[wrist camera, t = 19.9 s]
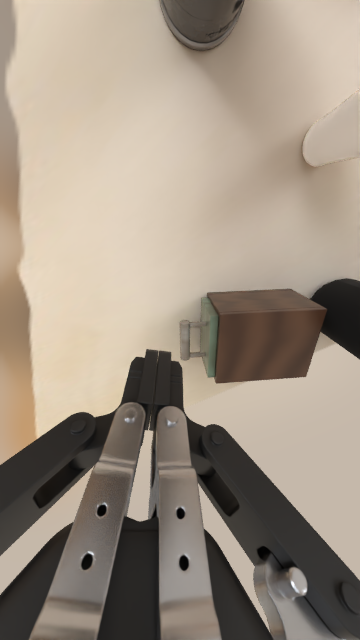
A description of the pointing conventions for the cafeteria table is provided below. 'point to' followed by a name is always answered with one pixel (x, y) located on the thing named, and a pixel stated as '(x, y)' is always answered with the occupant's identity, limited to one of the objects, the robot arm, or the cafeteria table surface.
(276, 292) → the cabinet
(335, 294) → the coffee jar
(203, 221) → the cafeteria table surface
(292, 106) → the cafeteria table surface
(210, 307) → the drawer
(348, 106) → the white cup
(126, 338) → the cafeteria table surface
